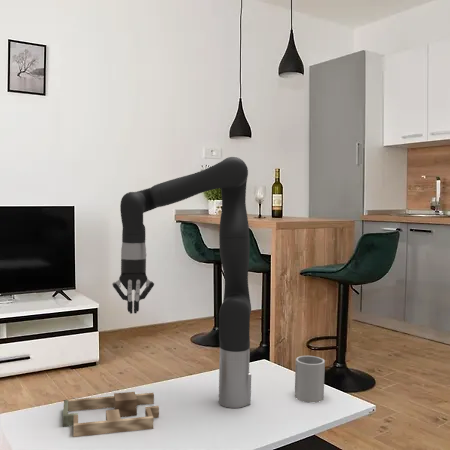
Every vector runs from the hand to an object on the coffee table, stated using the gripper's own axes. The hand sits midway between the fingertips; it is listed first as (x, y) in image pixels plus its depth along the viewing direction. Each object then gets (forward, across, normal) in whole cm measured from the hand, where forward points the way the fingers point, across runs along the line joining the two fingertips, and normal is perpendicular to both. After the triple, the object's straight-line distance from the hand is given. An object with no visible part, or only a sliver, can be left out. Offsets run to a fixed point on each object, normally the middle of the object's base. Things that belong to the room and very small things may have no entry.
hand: (133, 312), depth 162 cm
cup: (+27, -55, +11) cm, 62 cm away
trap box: (+27, +7, +13) cm, 31 cm away
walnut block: (+27, +3, +10) cm, 29 cm away
